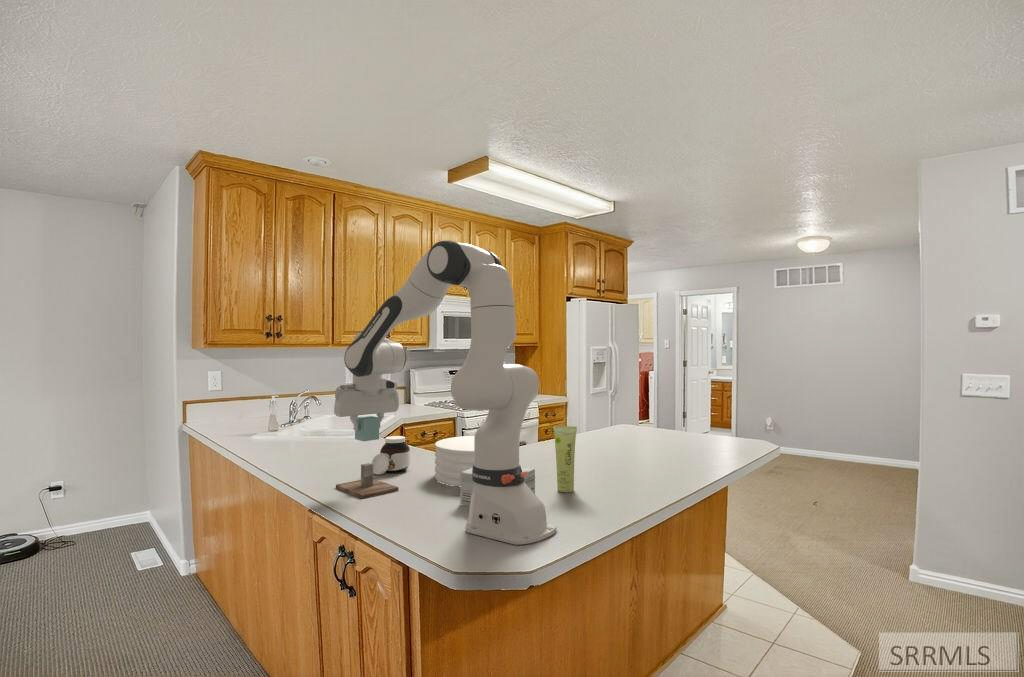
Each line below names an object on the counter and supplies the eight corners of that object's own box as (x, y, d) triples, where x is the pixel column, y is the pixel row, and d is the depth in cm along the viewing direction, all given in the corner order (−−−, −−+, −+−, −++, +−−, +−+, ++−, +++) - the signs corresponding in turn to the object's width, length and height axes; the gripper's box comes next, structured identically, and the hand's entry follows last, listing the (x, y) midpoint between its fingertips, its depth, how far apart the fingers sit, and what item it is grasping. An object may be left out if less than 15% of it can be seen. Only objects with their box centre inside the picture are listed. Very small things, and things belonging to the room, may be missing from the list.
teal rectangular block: (379, 439, 159) (379, 417, 159) (363, 441, 155) (363, 419, 155) (370, 437, 162) (370, 415, 162) (354, 439, 159) (355, 417, 159)
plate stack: (420, 484, 165) (420, 448, 165) (454, 465, 192) (455, 434, 192) (504, 491, 157) (504, 453, 157) (528, 470, 184) (528, 438, 184)
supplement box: (535, 501, 147) (536, 468, 147) (513, 515, 135) (513, 478, 135) (484, 493, 155) (484, 461, 155) (459, 505, 143) (459, 471, 143)
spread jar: (412, 468, 185) (412, 435, 186) (402, 476, 174) (402, 441, 174) (379, 468, 187) (379, 435, 187) (367, 475, 175) (368, 441, 175)
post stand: (398, 490, 157) (398, 465, 157) (362, 498, 148) (362, 472, 149) (371, 480, 168) (371, 457, 168) (335, 487, 160) (336, 463, 160)
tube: (559, 493, 154) (559, 427, 155) (552, 489, 159) (552, 424, 159) (576, 492, 156) (576, 426, 156) (570, 487, 161) (570, 424, 161)
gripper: (340, 385, 149) (340, 434, 149) (401, 382, 164) (401, 426, 164) (330, 384, 154) (329, 431, 154) (390, 381, 168) (390, 424, 168)
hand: (367, 429), depth 159 cm, fingers closed on teal rectangular block, 5 cm apart
